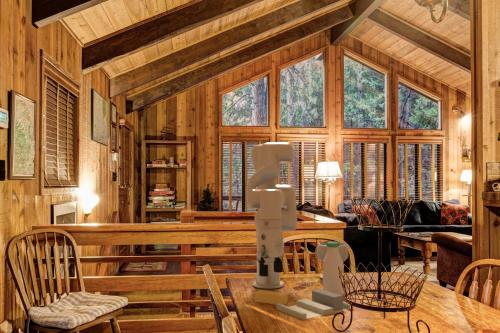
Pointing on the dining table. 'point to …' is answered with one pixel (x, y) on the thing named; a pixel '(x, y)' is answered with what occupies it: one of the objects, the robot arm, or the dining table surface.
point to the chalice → (323, 251)
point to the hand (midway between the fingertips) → (271, 274)
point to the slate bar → (328, 299)
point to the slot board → (309, 309)
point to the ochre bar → (271, 297)
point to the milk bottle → (332, 269)
